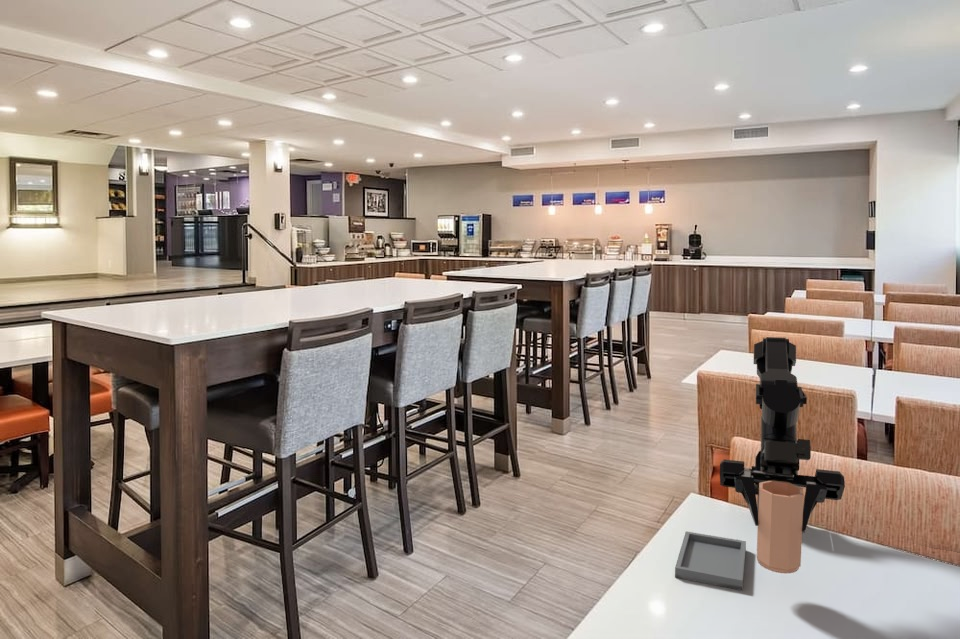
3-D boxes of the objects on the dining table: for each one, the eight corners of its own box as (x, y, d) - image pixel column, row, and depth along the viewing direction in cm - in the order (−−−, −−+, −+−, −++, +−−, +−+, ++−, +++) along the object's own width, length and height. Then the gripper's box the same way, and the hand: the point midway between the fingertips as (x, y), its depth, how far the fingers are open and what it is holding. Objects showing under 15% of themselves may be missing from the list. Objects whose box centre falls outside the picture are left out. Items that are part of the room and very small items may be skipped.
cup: (756, 550, 105) (759, 478, 103) (798, 557, 102) (802, 483, 101) (756, 569, 99) (759, 493, 98) (801, 577, 97) (804, 499, 95)
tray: (685, 539, 121) (685, 531, 121) (745, 550, 117) (745, 541, 116) (675, 577, 108) (675, 567, 108) (742, 590, 103) (742, 580, 103)
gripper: (721, 414, 105) (716, 500, 97) (845, 424, 98) (853, 518, 89) (722, 444, 113) (718, 526, 105) (837, 455, 106) (843, 544, 97)
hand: (779, 528), depth 99 cm, fingers closed on cup, 6 cm apart
